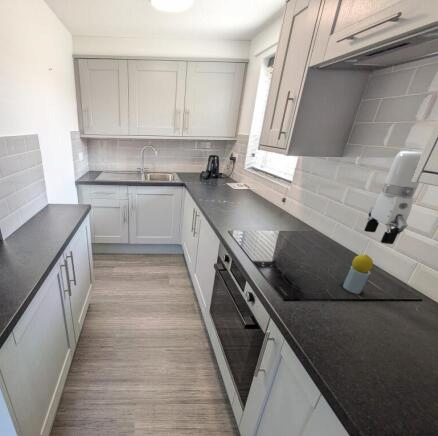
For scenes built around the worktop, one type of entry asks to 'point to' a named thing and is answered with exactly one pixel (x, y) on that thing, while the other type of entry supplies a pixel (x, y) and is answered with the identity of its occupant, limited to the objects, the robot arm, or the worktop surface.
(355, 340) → the worktop surface
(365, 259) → the lemon
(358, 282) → the cup
